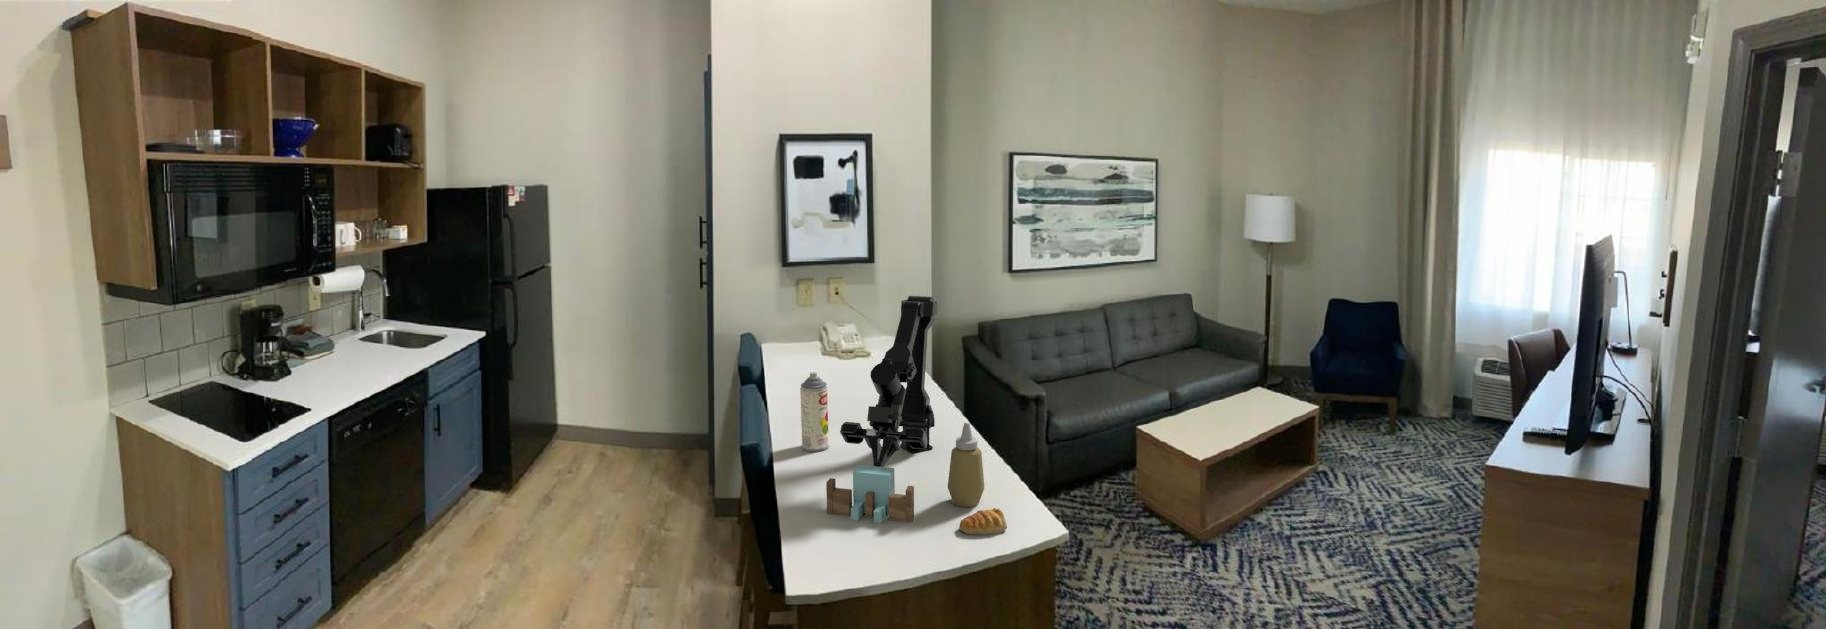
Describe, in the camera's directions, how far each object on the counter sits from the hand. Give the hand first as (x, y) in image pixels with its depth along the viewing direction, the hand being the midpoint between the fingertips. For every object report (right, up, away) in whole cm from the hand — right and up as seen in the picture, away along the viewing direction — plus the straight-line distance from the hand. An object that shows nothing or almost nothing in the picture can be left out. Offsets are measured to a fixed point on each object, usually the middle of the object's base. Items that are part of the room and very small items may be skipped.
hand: (876, 471), depth 176 cm
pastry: (+22, -10, -9) cm, 26 cm away
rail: (-1, -9, -3) cm, 9 cm away
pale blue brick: (-1, -8, -2) cm, 9 cm away
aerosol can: (-17, -1, +36) cm, 40 cm away
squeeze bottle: (+19, -7, +3) cm, 21 cm away
